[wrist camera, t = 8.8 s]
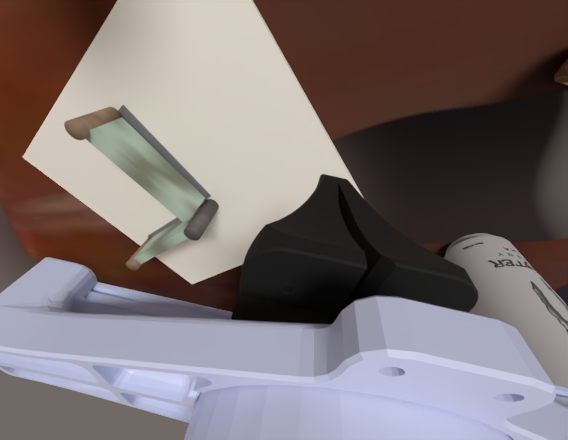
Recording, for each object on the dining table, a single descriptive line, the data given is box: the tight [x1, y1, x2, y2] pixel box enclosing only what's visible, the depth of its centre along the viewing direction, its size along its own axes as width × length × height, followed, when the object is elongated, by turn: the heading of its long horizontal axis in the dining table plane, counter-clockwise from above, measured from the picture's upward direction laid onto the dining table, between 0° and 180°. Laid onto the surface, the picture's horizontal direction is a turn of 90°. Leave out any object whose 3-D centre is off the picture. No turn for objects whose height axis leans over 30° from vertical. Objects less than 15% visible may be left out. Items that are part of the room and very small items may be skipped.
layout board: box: [23, 0, 363, 284], centre depth 24 cm, size 24×28×1 cm
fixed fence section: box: [126, 199, 219, 270], centre depth 25 cm, size 13×2×5 cm, turn 125°
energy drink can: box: [444, 233, 568, 387], centre depth 19 cm, size 6×6×15 cm
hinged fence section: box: [64, 107, 205, 223], centre depth 20 cm, size 11×1×4 cm, turn 37°
